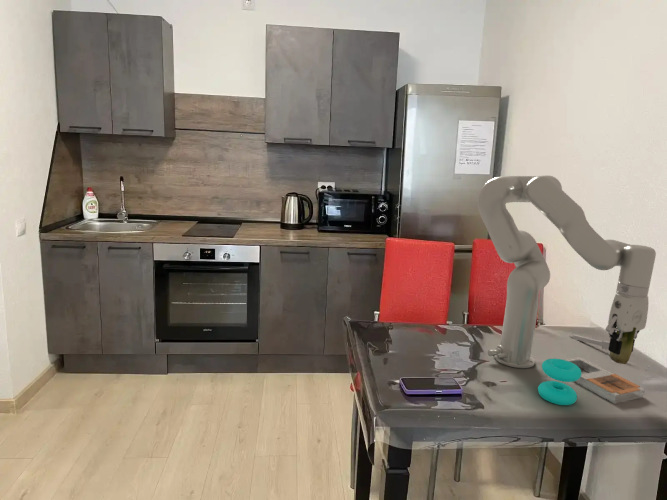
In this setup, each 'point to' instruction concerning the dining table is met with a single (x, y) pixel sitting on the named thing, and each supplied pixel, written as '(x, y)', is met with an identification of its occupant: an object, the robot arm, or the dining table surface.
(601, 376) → the orange and grey tray
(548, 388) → the donuts
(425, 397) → the dining table surface
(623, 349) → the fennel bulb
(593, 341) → the caliper
